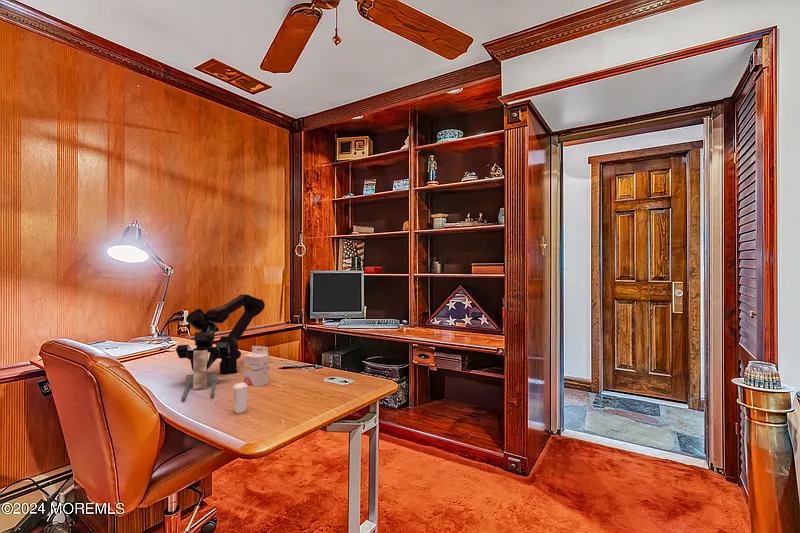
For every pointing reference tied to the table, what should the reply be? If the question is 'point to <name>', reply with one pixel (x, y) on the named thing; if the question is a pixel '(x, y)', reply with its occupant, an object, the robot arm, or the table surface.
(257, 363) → the ink cartridge box
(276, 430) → the table surface
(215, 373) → the guide track
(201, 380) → the post
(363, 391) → the table surface
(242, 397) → the milkshake
